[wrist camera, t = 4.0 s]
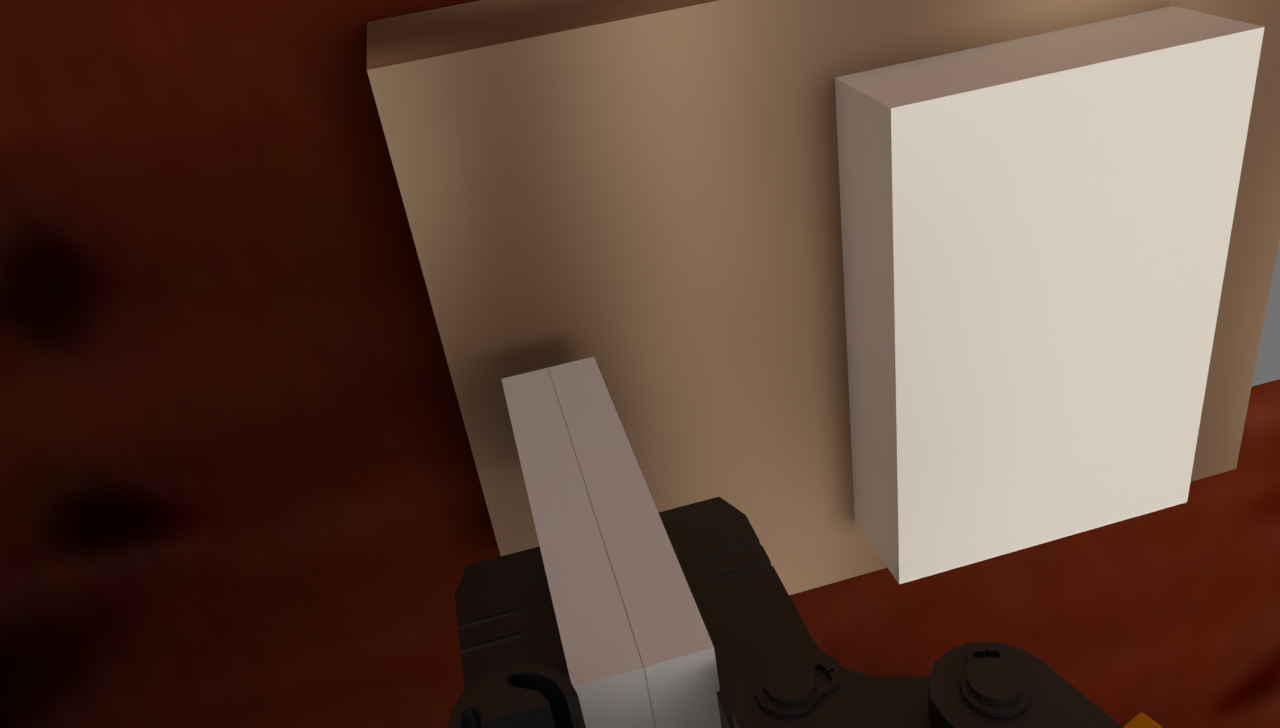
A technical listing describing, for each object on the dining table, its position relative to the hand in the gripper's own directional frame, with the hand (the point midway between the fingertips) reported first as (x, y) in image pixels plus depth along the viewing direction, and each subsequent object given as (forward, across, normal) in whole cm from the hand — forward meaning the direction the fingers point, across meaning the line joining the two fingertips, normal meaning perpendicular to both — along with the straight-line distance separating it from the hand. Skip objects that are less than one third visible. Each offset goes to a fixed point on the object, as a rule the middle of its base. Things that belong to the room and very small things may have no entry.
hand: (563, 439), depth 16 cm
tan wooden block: (+5, +6, 0) cm, 8 cm away
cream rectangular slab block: (+1, +8, 0) cm, 9 cm away
